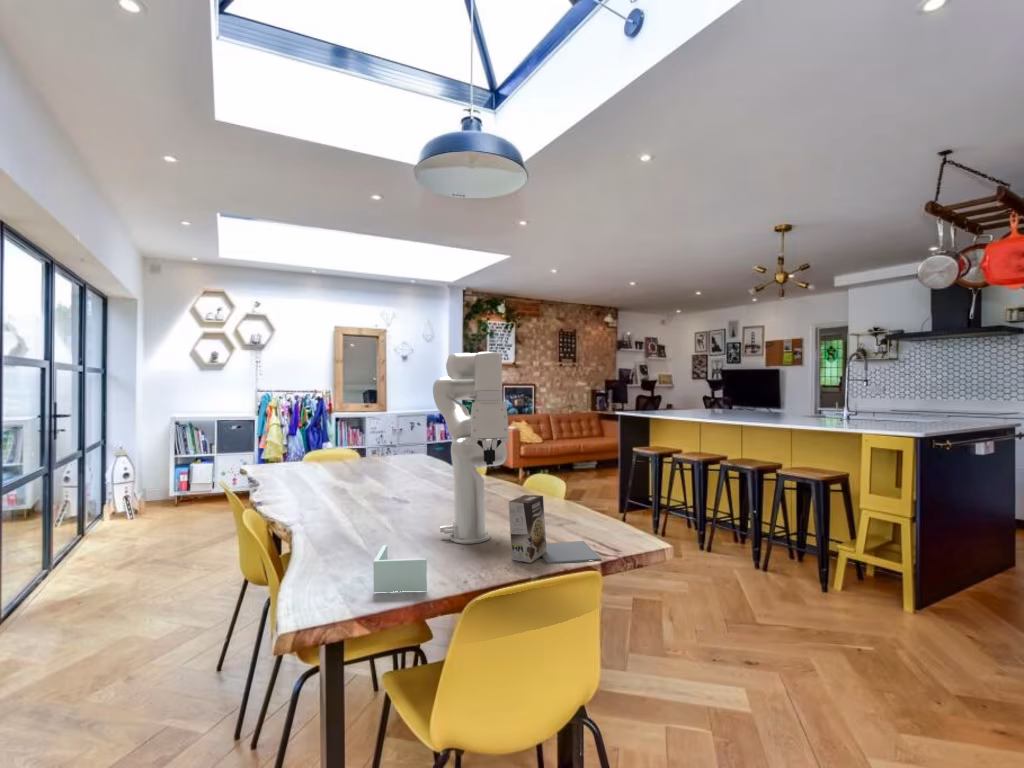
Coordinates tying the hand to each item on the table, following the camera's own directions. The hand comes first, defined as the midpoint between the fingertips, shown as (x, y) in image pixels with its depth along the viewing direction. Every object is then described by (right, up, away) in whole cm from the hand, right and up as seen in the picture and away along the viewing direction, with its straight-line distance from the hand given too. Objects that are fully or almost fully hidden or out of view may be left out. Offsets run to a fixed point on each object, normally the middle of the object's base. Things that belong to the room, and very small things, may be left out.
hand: (489, 464), depth 138 cm
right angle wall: (-20, -27, -15) cm, 37 cm away
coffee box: (+11, -26, +2) cm, 28 cm away
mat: (+22, -26, +5) cm, 34 cm away
